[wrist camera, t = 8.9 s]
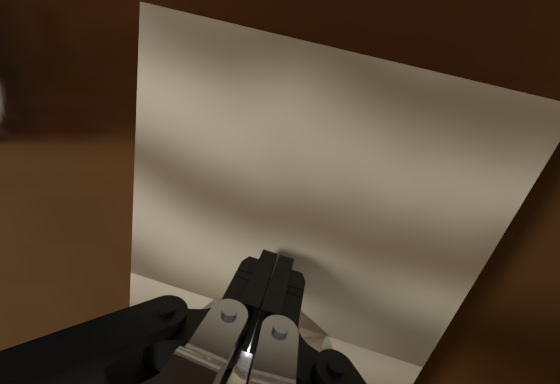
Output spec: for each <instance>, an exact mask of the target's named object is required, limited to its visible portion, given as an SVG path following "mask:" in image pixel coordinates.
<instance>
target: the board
mask: <svg viewBox="0 0 560 384" xmlns="http://www.w3.org/2000/svg"><path fill="white" fill-rule="evenodd" d="M559 142H560V101H557V100H552V99H548V98H544V97H540V96H536V95H531V94H527V93H523V92H519V91H515V90H510V89H506V88H502V87H498V86H493V85H489V84H485V83H481V82H477V81H472V80H468V79H464V78H460V77H456V76H451V75H447V74H443V73H439V72H434V71H430V70H426V69H422V68H418V67H413V66H409V65H405V64H401V63H397V62H392V61H388V60H384V59H380V58H375V57H371V56H367V55H363V54H359V53H354V52H350V51H346V50H342V49H338V48H333V47H329V46H325V45H321V44H316V43H312V42H308V41H304V40H300V39H295V38H291V37H287V36H283V35H279V34H274V33H270V32H266V31H262V30H257V29H253V28H249V27H245V26H241V25H236V24H232V23H228V22H224V21H220V20H215V19H211V18H207V17H203V16H198V15H194V14H190V13H186V12H182V11H177V10H173V9H169V8H165V7H161V6H156V5H152V4H148V3H144V2H140V20H139V49H138V79H137V108H136V137H135V167H134V196H133V225H132V254H131V284H130V307H131V306H133V305H136V304H139V303H142V302H145V301H148V300H151V299H154V298H157V297H160V296H164V295H174V296H177V297H180V298H182V299H183V300H184V301H185V302H186V304H187V306H188V309H207V308H211V307H212V306H213V305H214V304H215V303H216V302H218V301H220V300H221V299H222V298H223V296H224V294H225V292H226V290H227V288H228V286H229V284H230V282H231V280H232V279H233V277H234V275H235V273H236V271H237V269H238V267H239V265H240V263H241V261H243V260H244V259H246V258H247V257H249V256H250V257H254V258H257V259H259V258H260V255H261V253H262V251H263V249H265V250H268V251H271V252H274V253H277V254H278V256H277V260H278V257H279V254H281V255H284V256H287V257H290V258H294V262H293V266H292V270H295V271H298V272H301V273H302V274H303V276H304V279H305V288H304V294H303V300H302V306H301V312H300V318H299V325H298V327H299V332H300V334H301V336H302V338H303V339H304V341H305V342H306V343H307V344H308V345H310V346H311V347H313V348H314V349H316V350H317V351H319V352H321V351H322V350H325V349H334V350H337V351H339V352H341V353H343V354H344V355H345V356H347V357H348V358H349V360H350V361H351V362H352V363H353V365H354V366H355V368H356V369H357V371H358V372H359V373H360V375H361V376H362V378H363V379H364V381H365V382H366V383H367V384H413V383H414V381H415V380H416V378H417V376H418V375H419V373H420V371H421V370H422V368H423V366H424V365H425V363H426V362H427V360H428V358H429V357H430V355H431V353H432V352H433V350H434V348H435V347H436V345H437V343H438V342H439V340H440V338H441V337H442V335H443V333H444V332H445V330H446V329H447V327H448V325H449V324H450V322H451V320H452V319H453V317H454V315H455V314H456V312H457V310H458V309H459V307H460V305H461V304H462V302H463V300H464V299H465V297H466V295H467V294H468V292H469V291H470V289H471V287H472V286H473V284H474V282H475V281H476V279H477V277H478V276H479V274H480V272H481V271H482V269H483V267H484V266H485V264H486V262H487V261H488V259H489V258H490V256H491V254H492V253H493V251H494V249H495V248H496V246H497V244H498V243H499V241H500V239H501V238H502V236H503V234H504V233H505V231H506V229H507V228H508V226H509V224H510V223H511V221H512V220H513V218H514V216H515V215H516V213H517V211H518V210H519V208H520V206H521V205H522V203H523V201H524V200H525V198H526V196H527V195H528V193H529V191H530V190H531V188H532V187H533V185H534V183H535V182H536V180H537V178H538V177H539V175H540V173H541V172H542V170H543V168H544V167H545V165H546V163H547V162H548V160H549V158H550V157H551V155H552V153H553V152H554V150H555V149H556V147H557V145H558V144H559ZM277 260H276V263H277ZM275 266H276V264H275ZM274 269H275V267H274ZM273 272H274V271H273ZM272 275H273V274H272ZM257 322H258V321H257ZM256 325H257V324H256ZM246 378H247V376H246V375H244V374H243V373H242V372H241V371H240V369H239V368H238V366H237V364H236V365H235V369H234V371H233V373H232V376H231V378H230V380H229V382H228V384H245V383H246Z"/></svg>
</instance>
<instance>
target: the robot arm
mask: <svg viewBox="0 0 560 384" xmlns="http://www.w3.org/2000/svg"><path fill="white" fill-rule="evenodd" d="M277 256H278V254H277V253H274V252H271V251H268V250H265V249H263V251H262V253H261V255H260V258H259V259H257V258H254V257H250V256H249V257H247V258H246V259H244V260H243V261H241V263H240V265H239V267H238V269H237V271H236V273H235V275H234V277H233V279H232V280H231V282H230V284H229V286H228V288H227V290H226V292H225V294H224V296H223V298H222V299H221V300H220V301H218V302H216V303H215V304H214V305H213V306H212V307H211V308H207V309H188V306H187V304H186V302H185V301H184V300H183V299H182V298H180V297H177V296H174V295H164V296H160V297H157V298H154V299H151V300H148V301H145V302H142V303H139V304H136V305H133V306H131V307H128V308H125V309H122V310H119V311H116V312H113V313H110V314H107V315H104V316H101V317H98V318H95V319H93V320H90V321H87V322H84V323H81V324H78V325H75V326H72V327H69V328H66V329H63V330H60V331H57V332H54V333H52V334H49V335H46V336H43V337H40V338H37V339H34V340H31V341H28V342H25V343H22V344H19V345H16V346H14V347H11V348H8V349H5V350H2V351H0V384H228V382H229V380H230V378H231V376H232V373H233V371H234V369H235V365H236V364H237V362H238V360H239V357H240V355H241V352H242V351H244V352H247V351H248V348H249V345H250V342H251V339H252V336H253V333H254V330H255V333H254V336H253V340H252V343H251V347H250V350H249V353H251V354H253V357H252V360H251V364H250V367H249V371H248V374H247V378H246V383H245V384H367V383H366V382H365V381H364V379H363V378H362V376H361V375H360V373H359V372H358V371H357V369H356V368H355V366H354V365H353V363H352V362H351V361H350V360H349V358H348V357H347V356H345V355H344V354H343V353H341V352H339V351H337V350H334V349H325V350H322V351H321V352H319V351H317V350H316V349H314V348H313V347H311V346H310V345H308V344H307V343H306V342H305V341H304V339H303V338H302V336H301V334H300V332H299V327H298V325H299V318H300V312H301V306H302V300H303V294H304V288H305V279H304V276H303V274H302V273H301V272H298V271H295V270H292V266H293V262H294V258H290V257H287V256H284V255H281V254H279V257H278V260H277ZM276 260H277V263H276ZM275 264H276V266H275ZM274 267H275V269H274ZM273 271H274V272H273ZM272 274H273V275H272ZM257 321H258V322H257ZM256 324H257V325H256ZM255 327H256V329H255Z"/></svg>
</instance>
